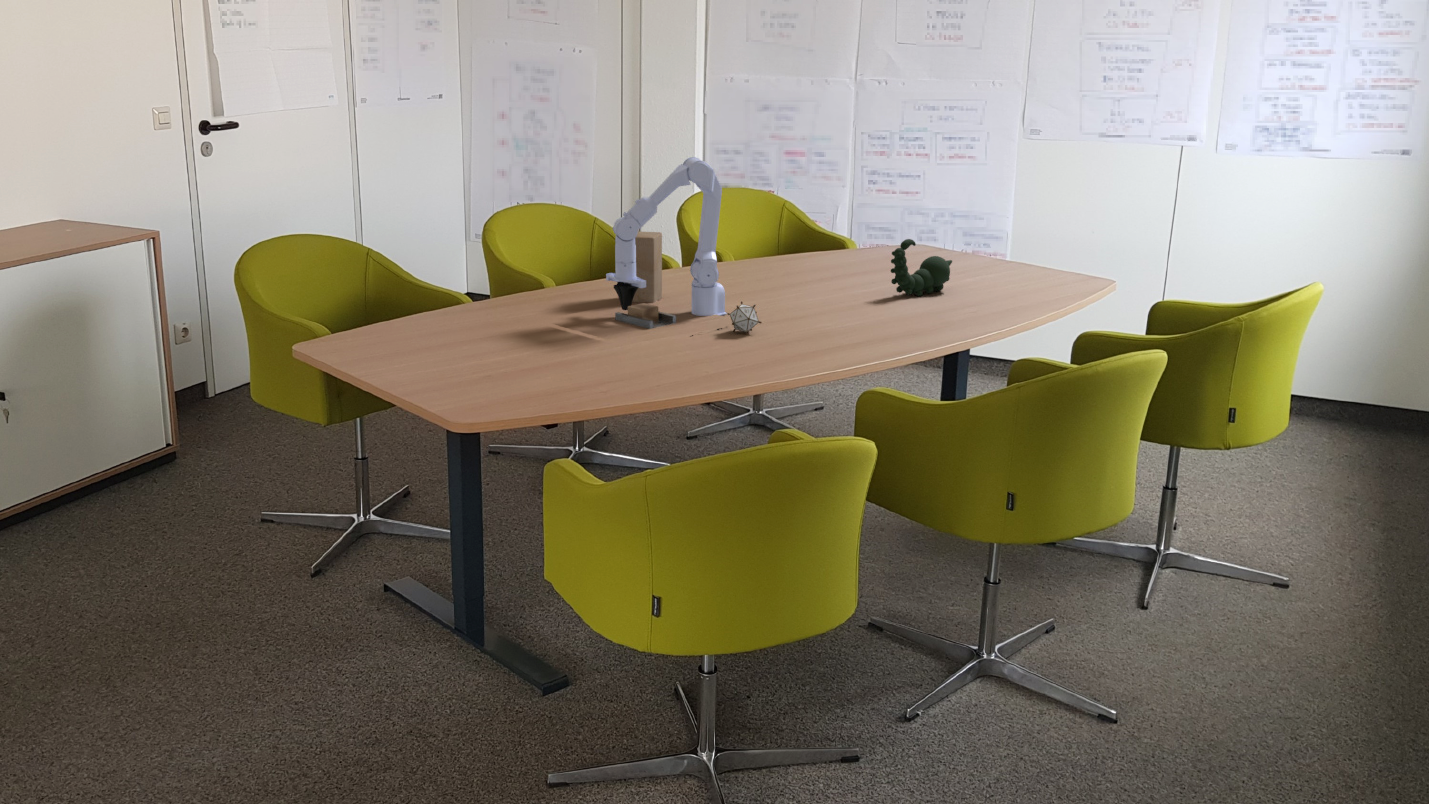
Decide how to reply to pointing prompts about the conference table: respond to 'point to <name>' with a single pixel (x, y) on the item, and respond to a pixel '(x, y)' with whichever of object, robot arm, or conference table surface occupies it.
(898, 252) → the toy figurine
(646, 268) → the wooden block
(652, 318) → the walnut block
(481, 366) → the conference table surface
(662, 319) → the chute
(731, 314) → the game die
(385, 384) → the conference table surface
